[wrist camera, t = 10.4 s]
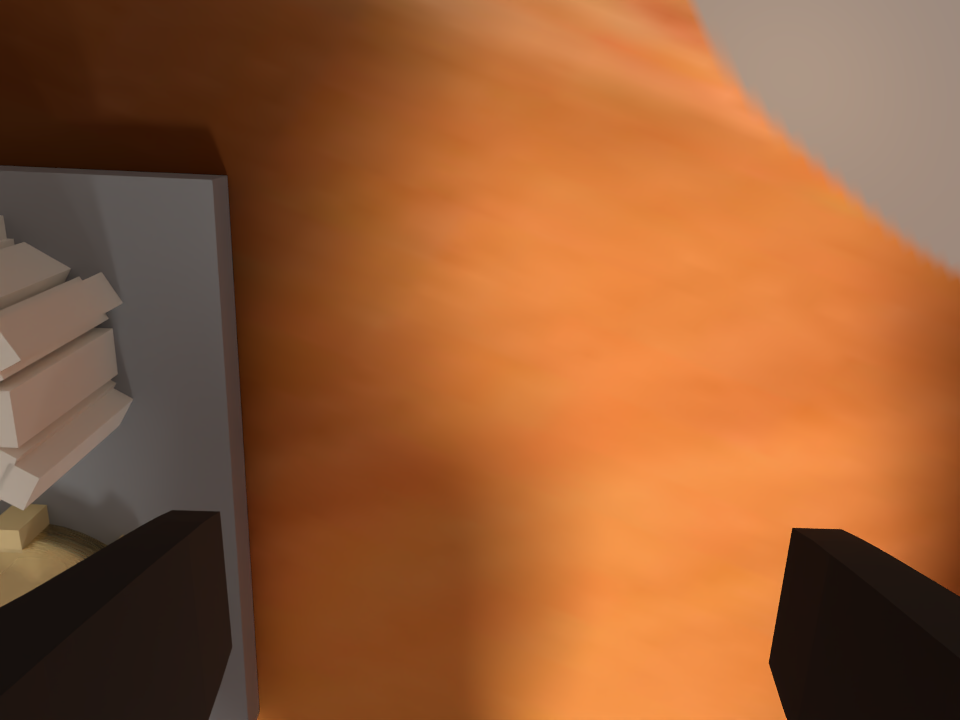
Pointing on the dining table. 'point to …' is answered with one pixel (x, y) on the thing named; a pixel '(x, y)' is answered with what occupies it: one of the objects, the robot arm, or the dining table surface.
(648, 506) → the dining table surface
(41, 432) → the gear
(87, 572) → the robot arm
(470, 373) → the dining table surface
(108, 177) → the gear board
